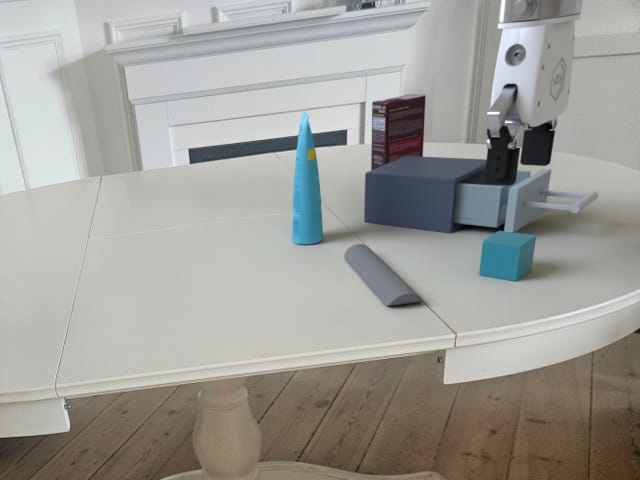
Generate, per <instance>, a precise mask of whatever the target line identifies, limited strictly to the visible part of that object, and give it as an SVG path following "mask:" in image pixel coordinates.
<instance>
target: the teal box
mask: <svg viewBox="0 0 640 480" xmlns="http://www.w3.org/2000/svg"><path fill="white" fill-rule="evenodd" d="M536 242H537V235H536V234H528V233H519V232H514V233H512V232H504V230H498V231H496V232H494V233H493V234H492V235H490V236H488V237H487V238H485V239H484V240H482V246H481V254H480V263H479V271H478V272H479V273H478V275H479V276H483V277H487V278H495V279H500V280H507V281H513V282H517V281H519V280H520V279H521V278H523V277H524V276H525V275H527V274H528V273H529V272H531V271H532V268H533V262H534V254H535V249H536V248H535V247H536Z"/></svg>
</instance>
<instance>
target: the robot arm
mask: <svg viewBox="0 0 640 480" xmlns="http://www.w3.org/2000/svg"><path fill="white" fill-rule="evenodd" d="M583 1H584V0H500V3H499V12H498V13H499V14H498V21H497V30H498V29H500V30H502V32H501V37H500V42H499V47H498V53H497V55H496V56H497V57H496V63H495V70H494V74H493V82H492V89H491V98H490V108H489V109H488V111H487V114H486V121H487V127H488V128H487V129H486V135H487V141H486V149H487V151H486V152H487V153H486V159H487V161H486V170H485V179H484V182H485V183H486V184H494V185H508V186H511V185H513V184H515V182H516V176H517V170H518V168H519V163H520V164H521V165H522V166H541V167H546V166H548V165H550V164H551V162H552V154H553V148H554V141H555V134H556V128H557V126H558V117H559V116H561V115H563V113H565V112H566V111H567V108H568V106H569V98H570V91H571V83H572V75H573V74H572V73H573V64H574V55H575V42H576V41H575V40H576V21H577V20H580V19H581V12H582V7H583ZM526 124H527V125H526ZM525 126H527V128H528V129H524V128H525ZM510 130H512V132H510ZM522 134H523V137H522V146H521V147H517V146H518V144H519V141H520V138H521V136H522ZM520 152H521V153H520Z"/></svg>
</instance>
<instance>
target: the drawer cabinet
mask: <svg viewBox="0 0 640 480" xmlns="http://www.w3.org/2000/svg"><path fill="white" fill-rule="evenodd" d="M486 161H487V158H485V159H483V158H463V157H462V158H461V157H443V156H442V157H439V156H423V157H420V156H405V157H402V158H400V159H397V160H395V161H393V162H390V163H388V164H385V165H383V166H381V167H378V168H376V169H374V170H371V169H370V170H368V171H366V172H365V174H364V211H363V212H364V216H363V217H364V218H363V221H364V223H370V224H378V225H387V226H393V227H401V228H407V229H416V230H424V231H430V232H431V231H432V232H438V233H439V232H440V233H446V234H451V233H453V232H455V231H456V230H458V229H460V228H462V227H463V226H465V225H466V224H461V223H454V212H455V201H456V190H457V183H458V182H460V181H462V180H464V179H466V178H468V177H470V176H472V175H474V174H476V173H478V172H480V171H482V170H484V169H486Z"/></svg>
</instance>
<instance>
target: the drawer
mask: <svg viewBox="0 0 640 480" xmlns="http://www.w3.org/2000/svg"><path fill="white" fill-rule="evenodd" d="M485 170H486V169H484V170H482V171H480V172H478V173H476V174H474V175H472V176H470V177H468V178H466V179H464V180H462V181H460V182H458V183H457V190H456V201H455V212H454V223H461V224H465V225H469V226H479V227H487V228H495V229H496V228H498V227H500V226H502V225H503V224H504V229H503V231H504V232H512V233H516V232H517V231H519V230H520V229H521V228H523V227H525V226H526V225H527V224H529V223H530V222H532V221H533V220H535V219H536V218H538V217H539V216H542V215H543V214H544V213H545V212H546V209H548V210H549V209H551V210H562V211H570V213H572V214H578V213H580V212H581V211H582V210H583V209H585V208H586V207H588V206H589V205H591V204H592V203H593V202H594V201H596V200H597V199H598V198H599V193H598V192H597V191H591V192H589V193H584V192H583V193H582V192H566V191H557V190H556V191H554V190H549V188H550V181H551V174H552V169H549V168H548V169H546V168H545V169H543V168H542V169H541V170H539V171H537V172H535V173H534V174H532V175H531V173H532V172H531V170H518V169H517V176H516V182H515V184H513V185H511V186H508V185H494V184H486V183H485V182H484V179H485ZM548 197H557V198H569V199H570V198H571V199H579V200H578V201H576V202H575V203H574V204H565V203H564V204H563V203H552V202H547V200H548Z"/></svg>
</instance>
